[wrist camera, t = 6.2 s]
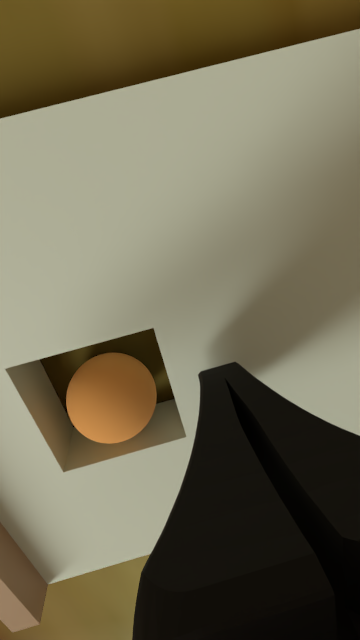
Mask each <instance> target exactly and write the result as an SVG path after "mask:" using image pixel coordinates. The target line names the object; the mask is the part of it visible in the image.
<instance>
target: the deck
mask: <svg viewBox="0 0 360 640" xmlns="http://www.w3.org/2000/svg"><path fill="white" fill-rule="evenodd" d="M151 328H154V331H155V335H156V338H157V341H158V345H159V348H160V351H161V354H162V358H163V361H164V364H165V368H166V371H167V374H168V378H169V381H170V384H171V388H172V391H173V394H174V397H175V399H172V400H168V401H165V402H161V403H158V404H156V406H155V410H154V413H153V415H152V417H151V419H150V421H149V422H148V424H147V425H146V426H145V427H144V428H143V429H142V430H141V431H140V432H139V433H138V434H137V435H135V436H134V437H132V438H130V439H128V440H125V441H123V442H119V443H112V444H107V443H99V442H96V441H93V440H91V439H89V438H87V437H85V436H84V435H83V434H81V433H80V432H79V431H78V430H77V429H76V427H73V426H72V424H71V422H70V420H69V418H68V416H67V414H66V412H65V410H64V408H63V406H62V404H61V402H60V400H59V398H58V396H57V394H56V392H55V390H54V388H53V386H52V384H51V382H50V380H49V378H48V376H47V374H46V372H45V370H44V368H43V366H42V364H41V362H40V360H39V359H42V358H46V357H50V356H53V355H57V354H60V353H64V352H68V351H71V350H75V349H79V348H82V347H86V346H89V345H93V344H97V343H100V342H104V341H108V340H111V339H115V338H119V337H122V336H126V335H129V334H133V333H137V332H140V331H144V330H148V329H151ZM232 362H237V363H239V364H240V365H241V366H242V367H243V368H245V369H246V370H247V371H248V372H249V373H251V374H252V375H253V376H255V377H256V378H257V379H258V380H260V381H261V382H262V383H264V384H265V385H267V386H268V387H269V388H271V389H272V390H274V391H275V392H277V393H278V394H280V395H281V396H283V397H284V398H286V399H287V400H289V401H291V402H292V403H294V404H296V405H297V406H299V407H301V408H302V409H304V410H306V411H308V412H309V413H311V414H313V415H315V416H317V417H319V418H321V419H323V420H325V421H327V422H329V423H331V424H333V425H335V426H338V427H340V428H342V429H344V430H347V431H349V432H352V433H354V434H357V435H359V436H360V29H357V30H353V31H349V32H345V33H341V34H337V35H333V36H329V37H325V38H321V39H317V40H313V41H309V42H305V43H301V44H297V45H293V46H289V47H285V48H281V49H277V50H273V51H269V52H265V53H261V54H257V55H253V56H249V57H245V58H241V59H237V60H233V61H229V62H225V63H221V64H217V65H213V66H209V67H205V68H201V69H197V70H193V71H189V72H185V73H181V74H177V75H173V76H169V77H165V78H161V79H157V80H153V81H149V82H145V83H141V84H137V85H133V86H129V87H125V88H121V89H117V90H113V91H109V92H105V93H101V94H97V95H93V96H89V97H85V98H81V99H77V100H73V101H69V102H65V103H61V104H57V105H53V106H49V107H45V108H41V109H37V110H33V111H29V112H25V113H21V114H17V115H13V116H9V117H5V118H1V119H0V620H1V621H2V622H3V623H4V624H5V625H6V626H7V627H8V628H9V629H10V630H11V631H12V632H15V631H19V630H22V629H25V628H29V627H32V626H35V625H39V624H40V621H41V616H42V611H43V606H44V601H45V596H46V591H47V586H48V584H51V583H54V582H58V581H61V580H64V579H68V578H71V577H74V576H78V575H81V574H84V573H88V572H91V571H94V570H98V569H101V568H104V567H108V566H111V565H114V564H118V563H121V562H124V561H128V560H131V559H135V558H138V557H141V556H145V555H148V554H151V552H152V551H153V549H154V547H155V545H156V543H157V541H158V539H159V537H160V535H161V533H162V531H163V529H164V526H165V524H166V522H167V519H168V517H169V515H170V512H171V510H172V508H173V505H174V503H175V500H176V498H177V496H178V493H179V490H180V488H181V485H182V482H183V479H184V476H185V473H186V469H187V466H188V463H189V459H190V456H191V452H192V448H193V444H194V439H195V434H196V428H197V422H198V416H199V405H200V382H199V377H198V374H199V373H200V371H204V370H207V369H211V368H214V367H218V366H221V365H225V364H228V363H232Z"/></svg>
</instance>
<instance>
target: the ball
mask: <svg viewBox="0 0 360 640" xmlns="http://www.w3.org/2000/svg"><path fill="white" fill-rule="evenodd" d="M156 399H157V392H156V386H155V382H154V379H153V377H152V375H151V373H150V372H149V370H148V369H147V368H146V366H144V365H143V364H142V363H141V362H140V361H139V360H137V359H136V358H134V357H132V356H129V355H127V354H122V353H105V354H101V355H98V356H95V357H93V358H91V359H89V360H88V361H86V362H85V363H84V364H83V365H81V366H80V367H79V368H78V370H77V371H76V372H75V374H74V375H73V377H72V379H71V381H70V383H69V386H68V389H67V395H66V406H67V411H68V415H69V417H70V420H71V422H72V423H73V425H74V426H75V427H76V429H77V430H78V431H79V432H80V433H81V434H83V435H84V436H85V437H87V438H89V439H91V440H93V441H96V442H99V443H107V444H112V443H119V442H123V441H125V440H128V439H130V438H132V437H134V436H135V435H137V434H138V433H139V432H140V431H141V430H142V429H143V428H144V427H145V426H146V425H147V424H148V422H149V421H150V419H151V417H152V415H153V413H154V410H155V406H156Z"/></svg>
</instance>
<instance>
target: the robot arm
mask: <svg viewBox="0 0 360 640" xmlns="http://www.w3.org/2000/svg"><path fill="white" fill-rule="evenodd" d="M198 377H199V382H200V405H199V416H198V422H197V428H196V434H195V439H194V444H193V448H192V452H191V456H190V459H189V463H188V466H187V469H186V473H185V476H184V479H183V482H182V485H181V488H180V490H179V493H178V496H177V498H176V500H175V503H174V505H173V508H172V510H171V512H170V515H169V517H168V519H167V522H166V524H165V526H164V529H163V531H162V533H161V535H160V537H159V539H158V541H157V543H156V545H155V547H154V549H153V551H152V552H151V554H150V556H149V558H148V560H147V562H146V564H145V566H144V568H143V570H142V572H141V577H140V582H139V588H138V593H137V600H136V607H135V614H134V625H133V639H132V640H360V436H359V435H357V434H354V433H352V432H349V431H347V430H344V429H342V428H340V427H338V426H335V425H333V424H331V423H329V422H327V421H325V420H323V419H321V418H319V417H317V416H315V415H313V414H311V413H309V412H308V411H306V410H304V409H302V408H301V407H299V406H297V405H296V404H294V403H292V402H291V401H289V400H287V399H286V398H284V397H283V396H281V395H280V394H278V393H277V392H275V391H274V390H272V389H271V388H269V387H268V386H267V385H265V384H264V383H262V382H261V381H260V380H258V379H257V378H256V377H255V376H253V375H252V374H251V373H249V372H248V371H247V370H246V369H245V368H243V367H242V366H241V365H240V364H239V363H237V362H232V363H228V364H225V365H221V366H218V367H214V368H211V369H207V370H204V371H200V373H199V374H198Z"/></svg>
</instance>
